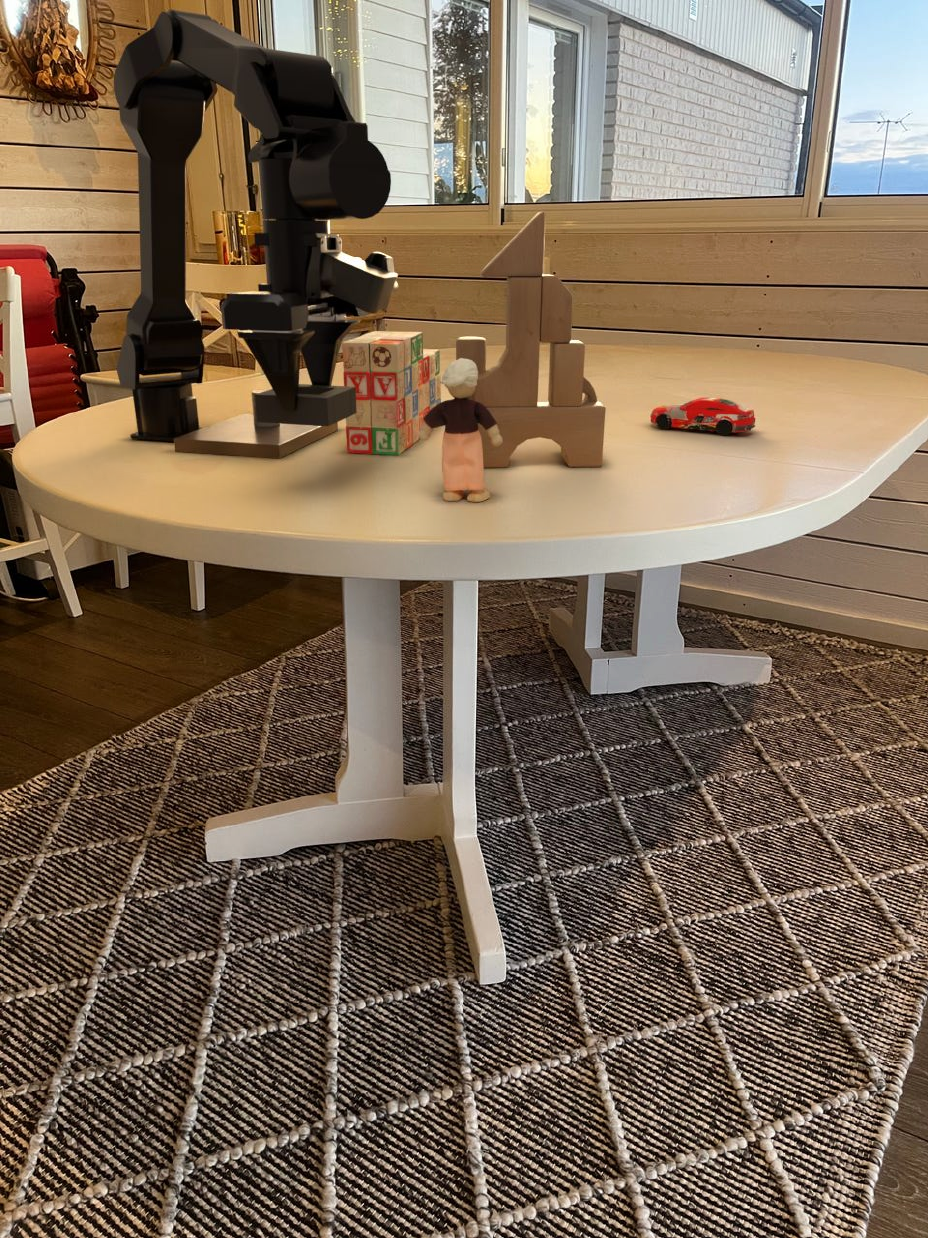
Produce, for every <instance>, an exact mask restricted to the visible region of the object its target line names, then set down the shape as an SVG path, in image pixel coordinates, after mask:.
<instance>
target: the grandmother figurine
mask: <svg viewBox="0 0 928 1238" xmlns="http://www.w3.org/2000/svg"><path fill="white" fill-rule="evenodd" d="M441 376H442V377H441V385H444V387H445V388H446V389H447V391H448V393H449V395H450V396H451V397H452V398H451V399H448V400H444V401H441V403H439V404H438V405H436V406H435V407H433V408H432V409H431V410H430V411H429V412H428V413H427V414H426V415H425V417H424V418H423V420H424V422H423V425H422V429H421V431H420V432H419V434H418V436H419V440H421V441H424V442H425V441H428V440H430V439H429V438H430V435H431V433H432V432H433V430H434V429H436V428H440V427H444V431H443V434H442V444H441V445H442V446H441V470H442V479H443V483H442V484H443V489H444V492H443V494H442V498H443V500H444V501H445V502H459V501H461V500H462V499H463V498H464V497H465V493H464V491H467V490H469V492H470V493H469V494H468V495H467V498H466V501H467V502H474V503H479V502H483V501H485V500H488V499H490V498H491V493H490V492H489V490H488V489H486V488H485V468H484V467H483V449H482V439H481V435H480V432H479V428H478V423H479V424H481V425H482V426H483V427H484V429H485V430H487V432H488V435H489V436H490V437H491V442H492V444H493V445H494V446H499V445H501V444H502V442H503V439H502V437H501V436H500V435H499V429H498V427H497V422H496V420H495V419H494V418H493V416H492V415H491V413H490V412H489V410H488V409H487V408H486V407H485V406H484V405H483V404H482V403H480V402H478V401H475V400H471V399H468V398H469V397H470V396H471V395H473V393H474V391H475V387H476V385H477V379H478V369H477V366H476V364H475V363H474V362H473V361H472V360H469V359H463V358H460V359H458V360H456V359H455V360H453V361H452V362H451V363H450V364H448V365H447V366H446V369H445V370H444V372H443V373H442V375H441Z"/></svg>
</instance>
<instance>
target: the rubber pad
mask: <svg viewBox="0 0 928 1238" xmlns="http://www.w3.org/2000/svg"><path fill="white" fill-rule="evenodd" d="M255 403H256V416H257V422H262V423H279V424H296V425H313V426H330V425H332V424H334V423H337V422H341V421H343V420H346V418H347V417H349V416H351V415H353V414H355V413H357V410H356V387H350V386H344V385H331V386H329V385H312V384H306V383H299V391H298V402H297V409H296V410H295V411H285V410H284V409H283V407H282V405H281V403H280V401H279V400H278V398H277V396H276V394H275V392H274V390H273V389H272V388H271V389H270V390H267V391H264V392H261V393H258V394H255Z"/></svg>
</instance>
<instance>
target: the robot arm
mask: <svg viewBox="0 0 928 1238" xmlns="http://www.w3.org/2000/svg"><path fill="white" fill-rule="evenodd" d="M333 72H334V69H333V67H332V65H331V64H330V62H329V61H328V59H326V57H324V56H321V55H316V54H315V55H314V54H307V53H301V52H292V51H287V50H280V49H272V48H266V47H265V46H263V45H260V44H258V43H257V42H255V41H252V40H251V39H249V38H247V37H245V36H244V35H241V34H239V33H237V32H235V31H233V30H232V29H230V28H228V27H226V26H224V25H222V24H220V23H219V22H218V21H217V20H216V19H213V18H212V17H211V16H210V15H209V14H202V13H196V12H190V11H183V10H178V9H172V8H171V9H168V10H167V11H161V12H160V13H159V15H158V17H157V19H156V21H155V23H154V25H153V27H151V28H150V29H149V30H147V31H146V32H144V33H142V34H141V35H139V36H138V37H136V38H135V39H134V40H132V41H131V42H129V43H127V45H126V46H125V48H124V49H123V51H122V54H121V56H120V59H119V61H118V63H117V65H116V68H115V70H114V74H113V92H114V96H115V100H116V103H117V105H118V110H119V119H120V120H119V121H120V124H121V125H122V127H123V128H124V131H125V133H126V135H127V136H128V138H129V140H130V141H131V143H132V144H133V146H134V149H135V150H136V152H137V178H138V216H139V217H138V218H139V219H138V220H139V222H138V223H139V252H140V253H139V259H140V260H139V261H140V294H139V295H138V296H137V298H136V300H135V301H134V303H133V305H132V306H131V308H130V309H129V310H128V313H127V314H126V324H125V325H126V328H125V335H124V336H123V340H122V343H121V347H120V351H119V355H118V359H117V363H116V367H115V368H116V373H117V377H118V381H119V385H120V386H121V387H124V388H128V389H131V391H132V400H133V407H134V414H135V421H136V422H135V423H136V429H137V431H136V432H133V433H131V434H130V435H129V436H130V439H133V440H146V441H147V440H148V441H149V440H150V441H163V442H174V438H177V437H180V436H182V435H185V434H188V433H191V432H194V431H196V430H199V429H202V428H203V427H200V422H199V412H198V403H197V397H196V396H194V394H193V386H192V385H193V384H197V385H198V384H203V377H204V367H205V366H204V365H205V349H206V348H205V344H204V340H203V335H204V334H203V333H204V326H203V324H202V322H201V320H200V319H198V318H197V317H196V315H195V314H194V312H193V310H192V308H191V307H190V306H189V304H188V302H187V162H188V160H189V158H190V156H191V155H192V153H193V151H194V150H195V148H196V147H197V145H198V143H199V142H200V140H201V139H202V137H203V134H204V133H203V132H204V119H205V112H206V111H207V110H208V108H209V106H210V105H211V104H212V102H213V100H214V98H215V97H216V95H217V93H218V90H219V88H218V86H220V87H221V88H223V89H225V90H226V91H229V92H230V93H231V94H232V95H233V96H234V101H233V106H234V108H235V110H236V111H237V112H238V113H239V114H240V115H241V117H243V118H244V119H245V120H246V121H247V123H248V124H250V126H252V127H253V128H254V129H256V130H258V131H259V132H260V133H261V134H260V137H259V139H258V141H257V142H256V143H255V144H254V145H253V146H252V147H251V148H250V150H249V152H248V155H247V159H248V162H249V163H251V164H258V176H259V184H260V185H259V188H260V203H261V217H262V232H254V233H253V236H254V246H255V247H264V260H265V273H266V283H258V284H257V289H258V291H256V290H255V291H254V290H253V291H251V290H249V291H240V292H232V293H228V295H227V296H226V298H225V299H224V300H223V302H222V303H221V304H220V312H221V325H222V329H224V330H229V331H230V330H233V331H236V330H237V331H236V332H237V336H238V338H239V339H242V340H243V341H244V342H245V344H246V346H247V347H248V350H250V352H251V354H252V356H253V357H254V358H255V360H256V362H257V363H258V365H259V367H260V368H261V371H262V373H263V374H264V376H265V378H266V380H267V381H268V383H269V385H270V387H271V389H273V390H274V392H275V394H276V396H277V398H278V400H279V401H280V403H281V405H282V407H283V409H284V410H285V411H295V410H296V409H297V402H298V391H299V384H300V368H301V354H302V359H303V361H304V364H305V368H306V370H307V374H308V377H309V379H310V383H311V385H329V386H332V383H333V380H334V375H335V371H336V366H337V363H338V357H339V353H340V349H341V347H342V343H343V340H344V339H345V337H346V336H347V335H349V333H350V332H352V331H353V329H355V328H356V327H358V326H359V324H360V323H361V320H359V319H354V320H353V319H347V315H352V316H353V317H354V318H355V317H357V318H361V317H365V316H369V315H370V314H377V313H378V312H379V311H382V312H387V311H388V308H389V305H390V301H391V298H392V294H393V293H395V292H398V290H399V288H400V286H399V283H398V278H399V277H398V276H399V273H397V272H395V266H394V258H393V257H392V256H390V255H388V254H385V253H383V252H380V251H372V252H371V253H370V254H368V255H367V257H366V258H365V259H364V260H363V258H362V257H357V256H356V257H354V256H352V255H350V254H347V253H345V252H343V241H342V237H340V236H339V233H331V222H330V220H331V221H332V220H366V219H367V220H368V219H369V218H373V217H375V216H376V215H377V214H379V213H380V212H381V211H382V209H383V208H384V207H385V205H386V204H387V202H388V200H389V196H390V193H391V187H392V186H391V185H392V176H391V172H390V170H389V167H388V164H387V161H386V159H385V157H384V155H383V153H382V151H381V150H380V149H379V148H378V147H377V145H375V144H374V143H373V142H371V141H370V140H369V125H368V124H367V122H359V121H356V119H355V118H354V117H353V115H352V114H351V111H350V109H349V107H348V104H347V102H346V100H345V98H344V95H343V93H342V90H341V88H340V86H339V83H338V81H337V79H336V77H335V76H334V75H333ZM140 376H142V377H140Z"/></svg>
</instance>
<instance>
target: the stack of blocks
mask: <svg viewBox="0 0 928 1238" xmlns="http://www.w3.org/2000/svg"><path fill="white" fill-rule="evenodd" d="M341 347H342V364H343V365H342V366H343V386H350V387H356V410H357V413H355V414H353V415H351V416H349V417H347V418H345V424H346V425H345V436H346V452H347V454H362V455H364V454H366V455H372V454H374V455H384V456H386V455H387V456H399V455H401V454H402V453H403V452H405V451H406V450H407V449H409V448H410V447H411V446H412V445H413V444H415V443H416V442H417V441H418V440H420V438H419V436H418V434H419V432H420V431H421V429H422V425H423V422H424V420H423V418H424V417H425V415H426V414H427V413H428V412H429V411H430V410H431V409H432V408H433V407H435V406H436V405H438V404H439V403H441V402H442V383H441V382H442V377H441V376H442V375H441V373H440V372H441V369H440V368H441V361H440V359H441V355H440V353H441V351H440V349H434V348H433V349H431V348H424V332H423V331H389V330H387V331H386V330H385V331H384V330H374V331H370V332H367V333H365V334H362V335H359V336H358V337H355V338H352V339H348V340H345V341H342V343H341Z"/></svg>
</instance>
